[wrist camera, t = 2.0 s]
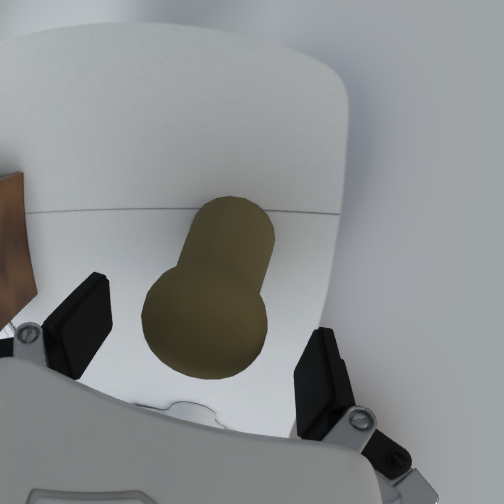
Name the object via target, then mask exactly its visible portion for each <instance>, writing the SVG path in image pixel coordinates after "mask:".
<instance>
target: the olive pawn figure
mask: <svg viewBox="0 0 504 504" xmlns="http://www.w3.org/2000/svg"><path fill="white" fill-rule="evenodd" d="M274 241H275V237H274V229H273V225H272V223H271V221H270V219H269V217H268V215H267V214H266V213H265V212H264V211H263V210H262V209H261V208H260V207H259V206H258V205H257V204H255V203H253V202H251V201H249V200H247V199H245V198H238V197H232V196H229V197H223V198H217V199H215V200H213V201H211V202H209V203H207V204H205V205H204V206H203V207H202V208H201V209H200V210H199V212H198V213H197V214H196V216H195V218H194V220H193V222H192V225H191V227H190V230H189V233H188V235H187V238H186V241H185V243H184V246H183V249H182V252H181V255H180V257H179V260H178V263H177V266H176V267H174V268H171V269H170V270H168V271H166V272H165V273H163V274H162V275H161V277H160V278H159V279H158V280H157V281H156V282H155V283H154V284H153V286H152V287H151V288H150V290H149V291H148V293H147V296H146V299H145V302H144V305H143V309H142V314H141V319H142V327H143V333H144V337H145V339H146V341H147V343H148V345H149V347H150V349H151V351H152V352H153V353H154V354H155V355H156V356H157V357H158V358H159V360H160V361H162V362H163V363H164V364H166V365H167V366H169V367H170V368H172V369H173V370H175V371H177V372H180V373H182V374H184V375H187V376H190V377H195V378H199V379H223V378H228V377H232V376H234V375H236V374H238V373H240V372H241V371H243V370H245V369H246V368H247V367H248V366H250V365H251V364H252V363H253V361H254V360H255V359H256V358H257V356H258V355H259V354H260V352H261V350H262V348H263V345H264V342H265V338H266V334H267V315H266V309H265V305H264V302H263V300H262V297H261V296H260V294H259V293H260V290H261V287H262V284H263V280H264V277H265V274H266V271H267V267H268V264H269V261H270V257H271V254H272V250H273V246H274Z"/></svg>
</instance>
